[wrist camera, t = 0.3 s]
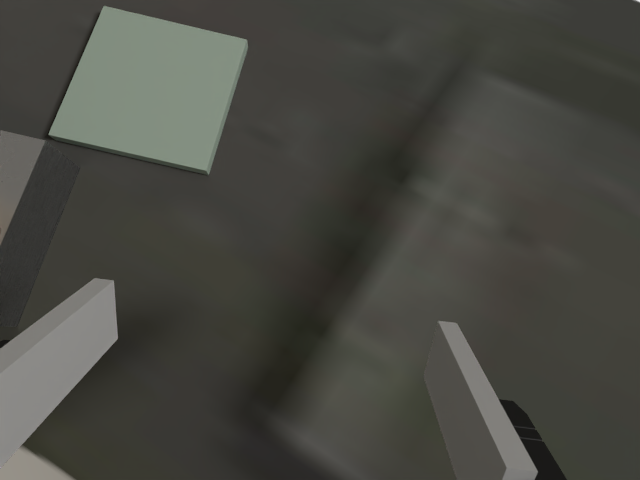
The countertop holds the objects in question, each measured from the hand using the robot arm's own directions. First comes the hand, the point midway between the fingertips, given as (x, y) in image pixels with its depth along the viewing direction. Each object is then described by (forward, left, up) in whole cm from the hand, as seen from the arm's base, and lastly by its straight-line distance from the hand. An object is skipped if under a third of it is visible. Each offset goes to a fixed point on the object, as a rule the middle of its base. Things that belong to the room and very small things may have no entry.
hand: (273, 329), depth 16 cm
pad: (+19, +17, -17) cm, 30 cm away
